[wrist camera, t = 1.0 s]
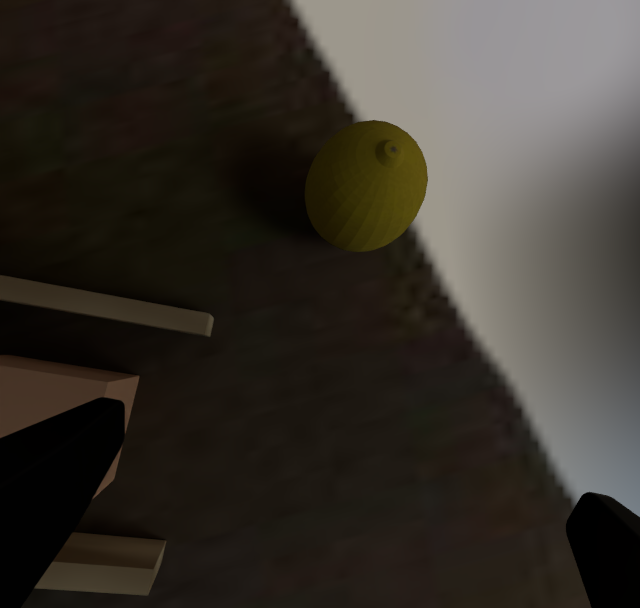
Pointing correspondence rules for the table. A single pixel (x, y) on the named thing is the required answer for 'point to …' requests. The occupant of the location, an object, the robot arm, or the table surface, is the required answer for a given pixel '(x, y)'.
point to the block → (56, 393)
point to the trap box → (93, 549)
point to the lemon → (365, 186)
